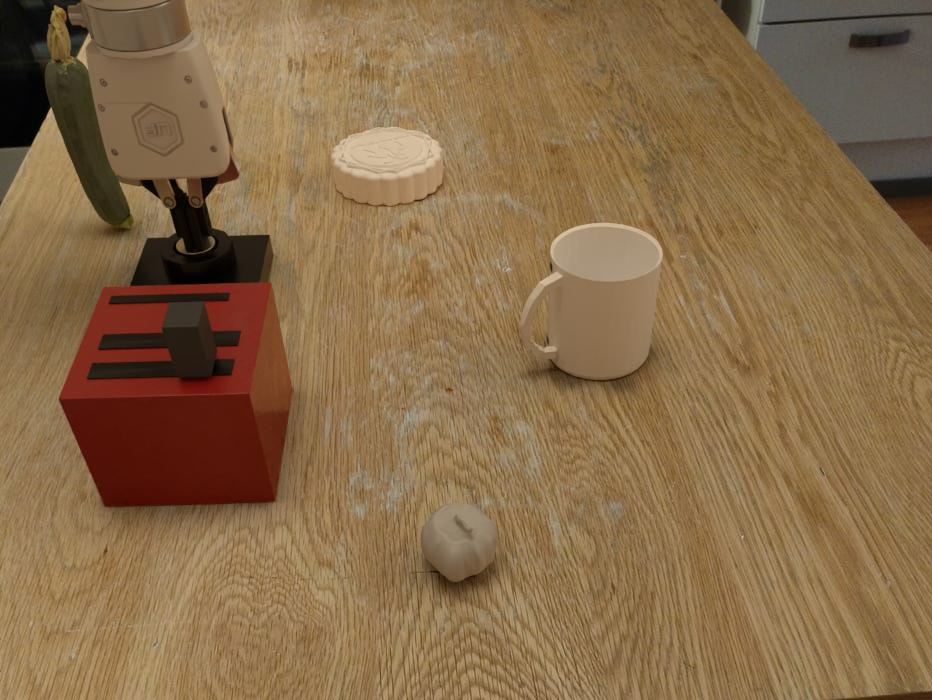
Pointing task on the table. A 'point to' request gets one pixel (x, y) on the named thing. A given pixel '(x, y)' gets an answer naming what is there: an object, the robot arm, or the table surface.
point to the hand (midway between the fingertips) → (197, 242)
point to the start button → (195, 253)
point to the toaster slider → (189, 339)
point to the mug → (597, 301)
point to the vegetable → (82, 125)
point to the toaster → (181, 399)
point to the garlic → (459, 540)
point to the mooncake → (387, 166)
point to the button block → (205, 261)
